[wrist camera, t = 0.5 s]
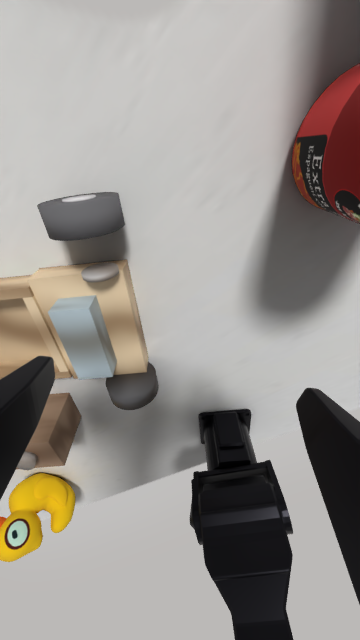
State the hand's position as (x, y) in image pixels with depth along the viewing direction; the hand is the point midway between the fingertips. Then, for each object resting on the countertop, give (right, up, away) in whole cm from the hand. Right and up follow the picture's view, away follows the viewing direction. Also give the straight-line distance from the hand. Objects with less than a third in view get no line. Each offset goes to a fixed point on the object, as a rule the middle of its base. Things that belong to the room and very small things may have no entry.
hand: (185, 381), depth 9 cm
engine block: (-16, -8, +22) cm, 28 cm away
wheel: (-6, +10, +9) cm, 15 cm away
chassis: (-14, +2, +15) cm, 20 cm away
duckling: (-21, -22, +31) cm, 44 cm away
